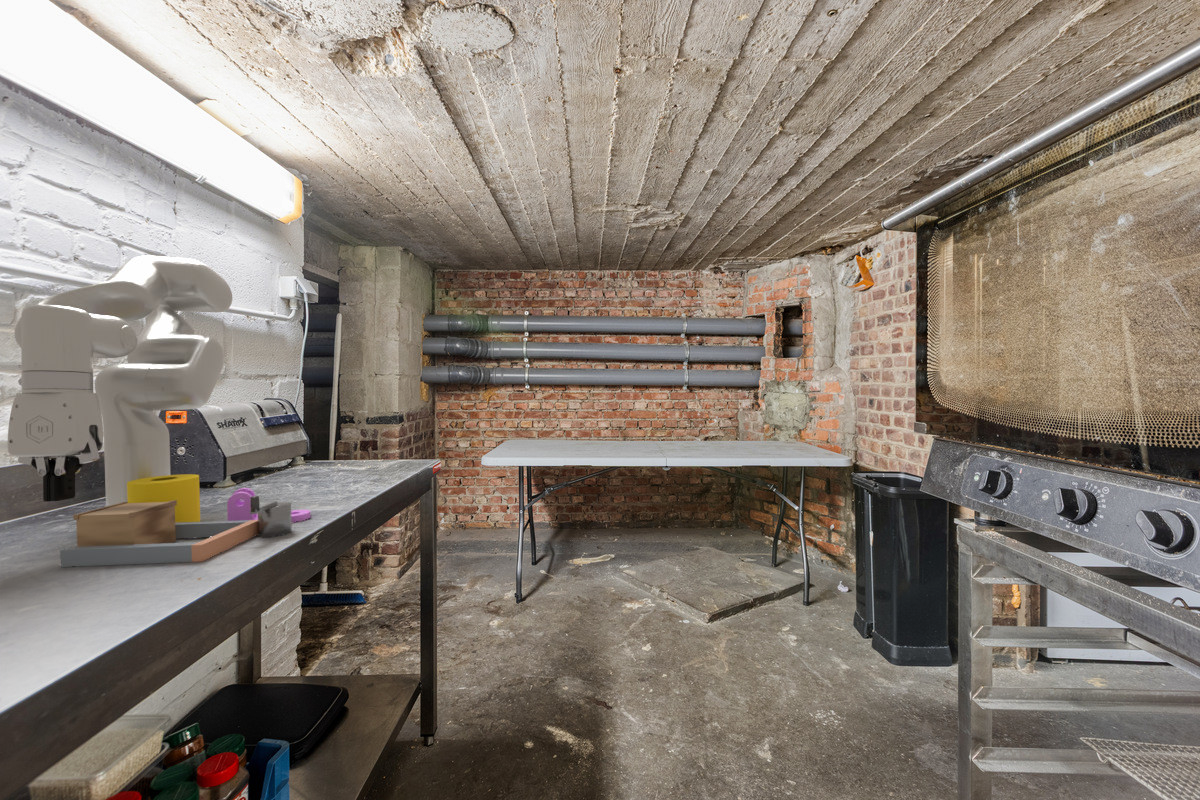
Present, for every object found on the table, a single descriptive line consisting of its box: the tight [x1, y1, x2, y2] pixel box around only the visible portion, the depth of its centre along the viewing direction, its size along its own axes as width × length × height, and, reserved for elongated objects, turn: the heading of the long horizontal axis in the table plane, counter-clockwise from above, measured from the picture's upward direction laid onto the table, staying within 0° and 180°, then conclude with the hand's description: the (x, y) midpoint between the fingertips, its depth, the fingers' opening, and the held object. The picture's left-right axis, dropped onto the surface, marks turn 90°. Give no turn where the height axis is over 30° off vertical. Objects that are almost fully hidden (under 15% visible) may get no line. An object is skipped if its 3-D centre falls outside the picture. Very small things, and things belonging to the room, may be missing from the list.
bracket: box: [226, 487, 312, 523], centre depth 93 cm, size 13×6×7 cm, turn 121°
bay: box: [59, 520, 258, 568], centre depth 77 cm, size 14×20×2 cm
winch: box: [250, 495, 293, 538], centre depth 83 cm, size 9×5×8 cm, turn 5°
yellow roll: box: [127, 473, 201, 523], centre depth 89 cm, size 10×10×9 cm
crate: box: [73, 500, 177, 547], centre depth 77 cm, size 8×8×7 cm
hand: (59, 499), depth 75 cm, fingers closed
